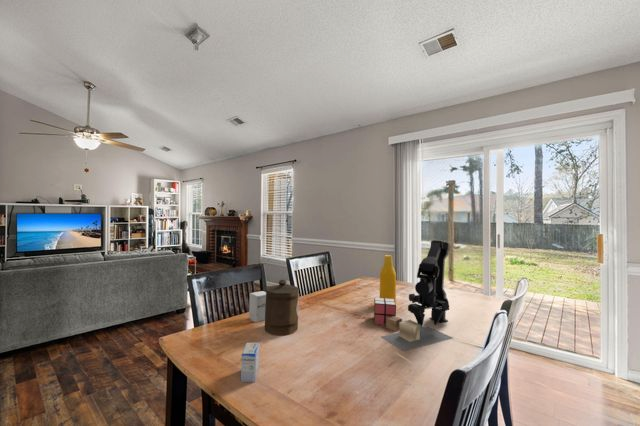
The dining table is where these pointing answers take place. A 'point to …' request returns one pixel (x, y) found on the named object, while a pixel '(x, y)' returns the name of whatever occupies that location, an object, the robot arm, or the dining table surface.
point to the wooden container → (281, 309)
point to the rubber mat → (427, 338)
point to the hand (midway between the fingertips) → (427, 326)
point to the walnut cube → (393, 323)
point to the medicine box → (250, 362)
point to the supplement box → (257, 306)
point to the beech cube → (410, 330)
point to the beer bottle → (388, 279)
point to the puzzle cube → (383, 309)
